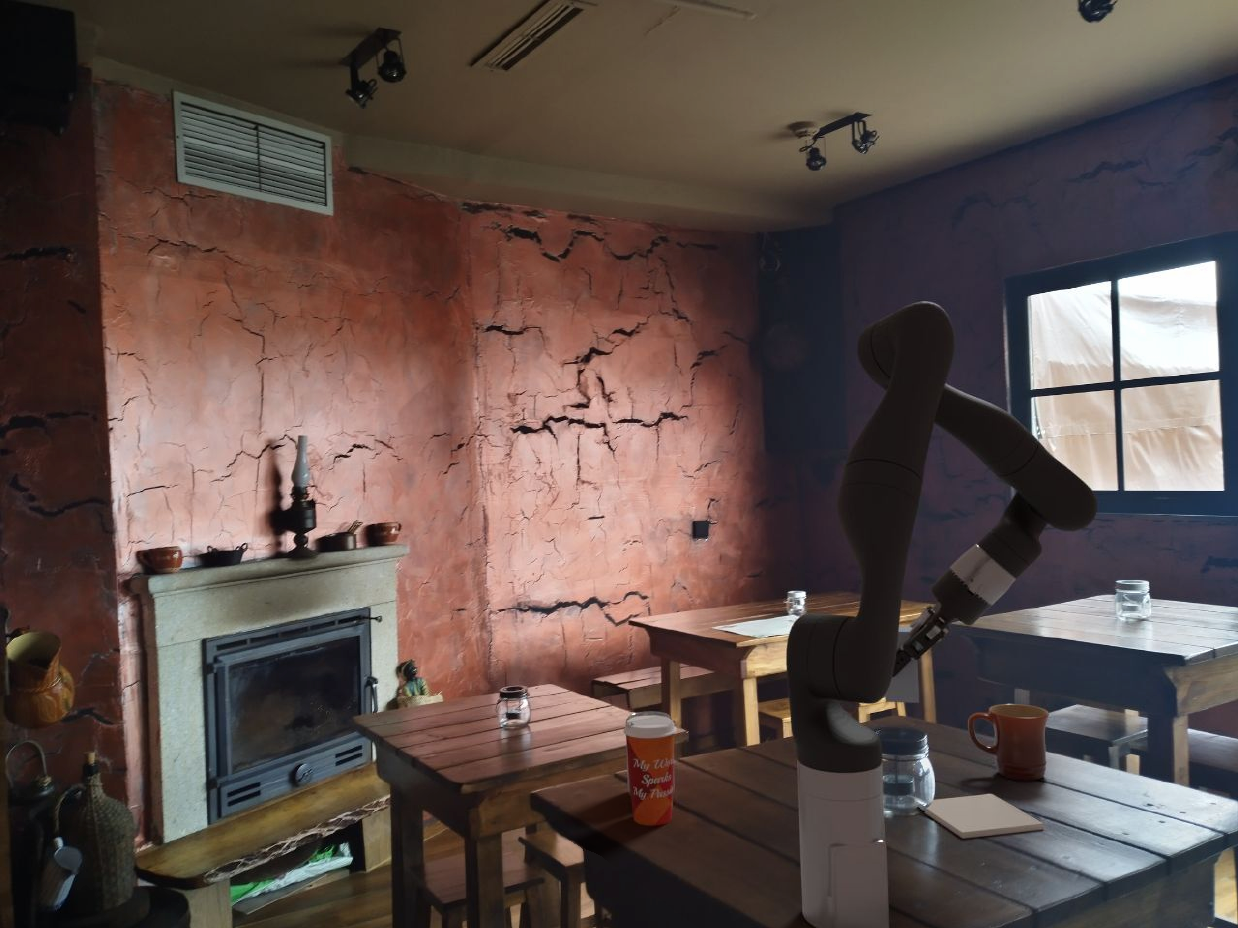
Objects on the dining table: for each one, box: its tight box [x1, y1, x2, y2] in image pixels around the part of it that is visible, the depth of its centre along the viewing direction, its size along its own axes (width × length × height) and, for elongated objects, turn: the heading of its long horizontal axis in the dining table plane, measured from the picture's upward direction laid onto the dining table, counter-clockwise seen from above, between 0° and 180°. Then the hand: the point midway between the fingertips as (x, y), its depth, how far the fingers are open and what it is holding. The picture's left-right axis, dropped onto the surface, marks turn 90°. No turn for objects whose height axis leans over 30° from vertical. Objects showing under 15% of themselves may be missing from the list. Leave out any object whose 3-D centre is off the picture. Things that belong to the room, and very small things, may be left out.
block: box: [884, 625, 920, 704], centre depth 132 cm, size 4×4×10 cm
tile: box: [924, 793, 1045, 840], centre depth 129 cm, size 12×12×1 cm
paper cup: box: [623, 716, 678, 827], centre depth 133 cm, size 8×8×14 cm
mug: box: [967, 703, 1050, 782], centre depth 147 cm, size 12×9×10 cm
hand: (887, 667), depth 133 cm, fingers closed on block, 4 cm apart
